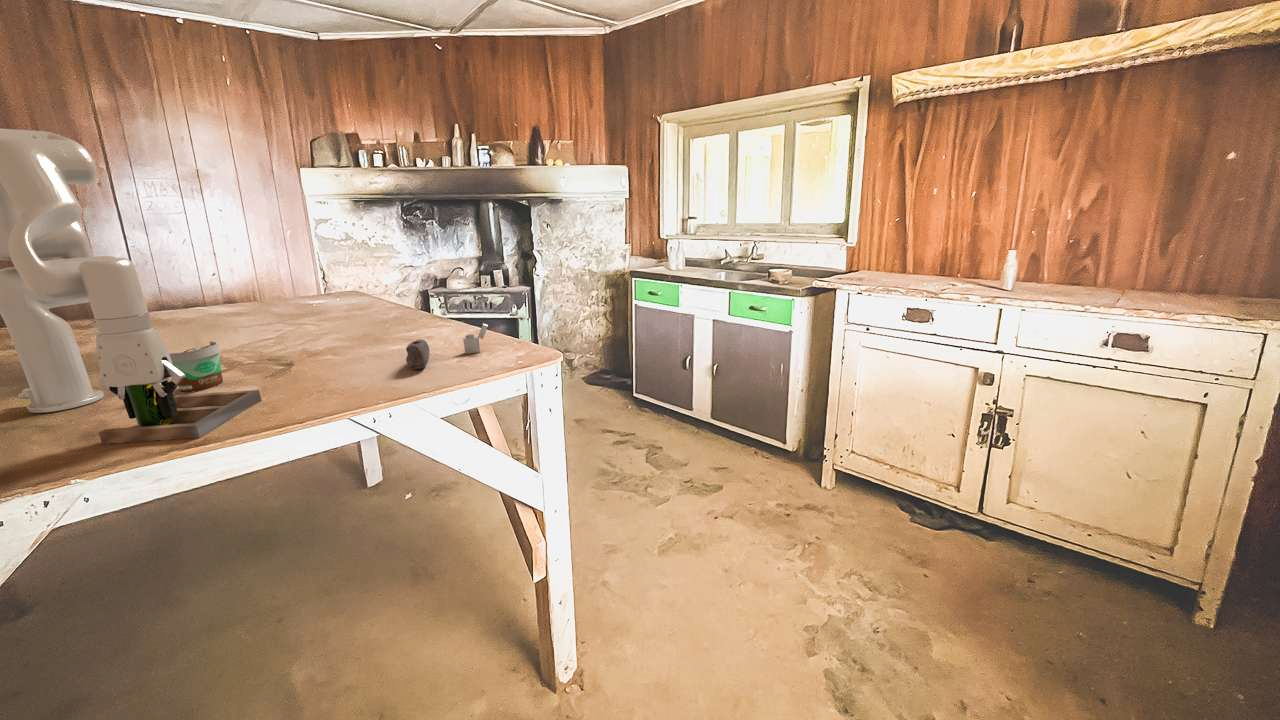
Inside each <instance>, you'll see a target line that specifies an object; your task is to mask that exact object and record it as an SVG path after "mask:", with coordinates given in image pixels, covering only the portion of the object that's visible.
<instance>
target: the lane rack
mask: <svg viewBox="0 0 1280 720" xmlns="http://www.w3.org/2000/svg"><path fill="white" fill-rule="evenodd" d="M173 396H174V395H173ZM174 399H175V403H176V408H177V411H176V412H174V413H172V415H173V418H174V422H176V423H175V425H160V426H145V427H138V426H131V427H118V428H117V427H116V428H104V429H102V430H101V431H98V435H99V439H100V441H101V445H102V444H103V445H111V444H110V443H118V444H124V443H123V442H132V443H141V442H140V441H147V442H155V441H154V440H162V441H171V440H170V439H176V440H186V439H185V438H191V439H200V438H202V437H204V436H206V435H207V434H208V433H210V432H212V431H213V429H214V430H215V429H217V428H218V427H221V426H222V425H223V424H225V423H227V422H228V421H230V420H231V418H232V419H233V418H235V417H237V416H239V415H240V414H242V413H243V412H245V411H247V410H248V409H250V408H251V407H253V406H254V404H255V405H256V404H258V403H260V402H261V401H262V396H261V393H260V389H252V390H236V391H234V390H233V391H222V392H219V391H218V392H207V393H206V392H203V393H191V394H190V393H189V394H176V395H175V396H174ZM260 400H261V401H260ZM259 401H260V402H259ZM257 402H258V403H257ZM224 404H225V405H224ZM210 405H214V406H210ZM252 405H253V406H252ZM191 406H198V407H191ZM180 407H183V408H180ZM249 407H250V408H249ZM247 408H248V409H247ZM244 410H245V411H244ZM242 411H243V412H242ZM239 413H240V414H239ZM236 415H237V416H236ZM234 416H235V417H234ZM229 419H230V420H229ZM187 421H192V423H190V422H189V423H188V422H187ZM226 421H227V422H226ZM221 424H222V425H221Z"/></svg>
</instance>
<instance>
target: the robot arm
mask: <svg viewBox="0 0 1280 720" xmlns="http://www.w3.org/2000/svg"><path fill="white" fill-rule="evenodd" d="M94 160H95V159H94V158H93V157H92V155H91V153H89V152H88V150H87V149H86V148H85V147H84V146H83V145H81V143H79V142H77V141H75V140H73V139H71V138H68V137H66V136H62V135H60V134H57V133H54V132H51V131H42V130H33V129H32V130H31V129H29V130H28V129H13V128H12V129H11V128H1V127H0V261H10V262H12V264H13V265H14V266H10V267H5V268H0V316H1V317H2V319H3V322H4V323H5V326H6V329H7V331H8V333H9V336H10V338H11V341H12V343H13V346H14V348H15V351H16V354H17V357H18V359H19V361H20V365H21V367H22V369H23V372H24V375H25V377H26V380H27V383H28V386H29V388H24V389H22V391H21V392H20V393H18V394H17V398H18V399H19V400H26V399H27V400H28V399H29V401H30V403H29V404H28V405H27V406H26V409H27V412H29V413H32V414H42V413H43V414H44V413H52V412H59V411H65V410H69V409H74V408H78V407H82V406H86V405H89V404H92V403H95V402H97V401H99V400H101V399H102V398H104V396H105V394H104V391H103V390H100V389H93V387H92V384H91V380H90V377H89V375H88V372H87V369H86V366H85V363H84V360H83V358H82V355H81V351H80V348H79V345H78V343H77V340H76V339H77V338H76V337H75V335H74V332H73V329H72V327H71V324H70V323H68V322H67V321H66V320H65V319H64V318H63V317H62V318H61V317H60V316H59V315H56V314H54V313H53V312H51V311H50V309H54V308H57V307H59V308H60V307H65V306H72V305H80V304H87V303H89V305H90V309H91V311H92V313H93V317H94V320H93V321H92V323H91V325H92V327H93V328H95V329H98V332H99V334H98V335H96V336H95V348H96V357H97V361H98V366H99V370H100V373H101V376H100V377H101V378H99V381H98V384H99V385H100V386H102V387H104V388H106V389H108V390H109V392H111V393H113V394H114V395H116V396H117V398H118V399H119V400H120V401H123V404H124V407H125V411H126V413H127V416H128V418H129V419H130V420H133V419H134V420H135V419H136V417H135V414H134V411H133V408H132V405H131V402H130V399H129V396H128V393H127V390H126V387H125V386H129V385H151V384H152V386H153V387H154V388H155V390H156V391H157V393H158V394H159V396H160V397H158V398H157V401H158V404H159V408H160V411H161V414H162V416H168V415H170V414H172V413H174V412H176V411H177V409H178V408H176V403H175V399H174V392H176V389H177V388H178V385H179V383H180V382H181V381H182V380H183V379H184V378H185V374H184V373H182V372H181V371H180V370H178V369H177V368H176V367H174V366H173V364H172V361H171V358H170V355H169V354H170V352H169V351H168V348H167V345H166V343H165V342H164V340H163V338H162V336H161V334H160V333H159V331H158V329H157V328H154V327H153V323H152V319H151V315H150V313H149V310H148V306H147V303H146V300H145V296H144V292H143V290H142V286H141V283H140V279H139V275H138V273H137V269H136V267H135V264H134V262H133V261H132V260H130V259H128V258H124V257H115V256H113V255H101V256H100V255H99V256H93V252H92V248H91V245H90V241H89V238H88V236H87V233H86V231H85V229H84V227H83V225H82V224H81V223H80V221H78V220H80V218H81V217H82V215H83V208H82V206H81V204H80V202H79V201H78V199H77V198H76V196H75V194H74V193H73V191H72V190H71V188H70V186H69V185H89V184H92V183H94V182H95V181H96V178H97V175H98V172H97V170H98V169H97V166H96V163H95V161H94ZM53 258H60V259H53ZM42 259H51V260H42ZM169 378H170V379H169ZM161 383H162V384H163V386H164V387H163V386H162V384H161Z"/></svg>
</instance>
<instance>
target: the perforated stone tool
mask: <svg viewBox="0 0 1280 720" xmlns="http://www.w3.org/2000/svg"><path fill="white" fill-rule="evenodd" d="M429 347H430V346H429V344H428V342H427V341H426V340H424V339H421V338H420V339H416V340H414V341H412V342H410V343H408V345H407V346H406V348H405V351H406V352H407V356H406V359H405V361H406V363H407V366H408V367H409V368H410V369H412V370H422V369H424V368H425V367H427V364H428V363H429V360H430V359H429V358H430V348H429Z"/></svg>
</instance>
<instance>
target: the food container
mask: <svg viewBox="0 0 1280 720" xmlns="http://www.w3.org/2000/svg"><path fill="white" fill-rule="evenodd" d="M221 352H222V349H221V347H220V346H219V344H218V343H217V342H216V341H209V344H208V345H205V346H203V347H202V346H201V347H197V348H189V349H187V350H185V351H183V352H175V353H174V352H173V353H169V355H170V358H171V361H172V364H173V366H174V367H176V368H177V369H178V370H180V371H181V372H182V373H184V374H185V378H184V379H183V380H182V381H181V382H180V383H179V385H178V386H177V388H179V391H180V393H181V392H186V393H192V392H191V391H195V392H199V391H198V390H201V391H204V390H203V389H206V390H208V389H207V388H210V389H212V388H211V387H213V388H215V387H214V386H216V387H218V386H217V385H219V384H221V383H222V382H223V383H224V379H223V371H222V367H221V360H220V353H221ZM223 383H222V384H223ZM222 384H221V385H222ZM219 386H220V385H219Z"/></svg>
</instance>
